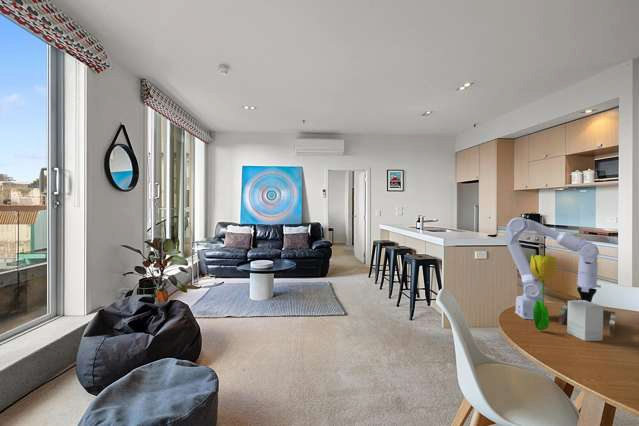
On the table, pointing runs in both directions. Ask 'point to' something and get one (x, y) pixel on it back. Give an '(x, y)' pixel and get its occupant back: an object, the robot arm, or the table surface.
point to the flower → (543, 271)
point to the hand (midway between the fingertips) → (586, 306)
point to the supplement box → (585, 320)
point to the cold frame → (607, 317)
